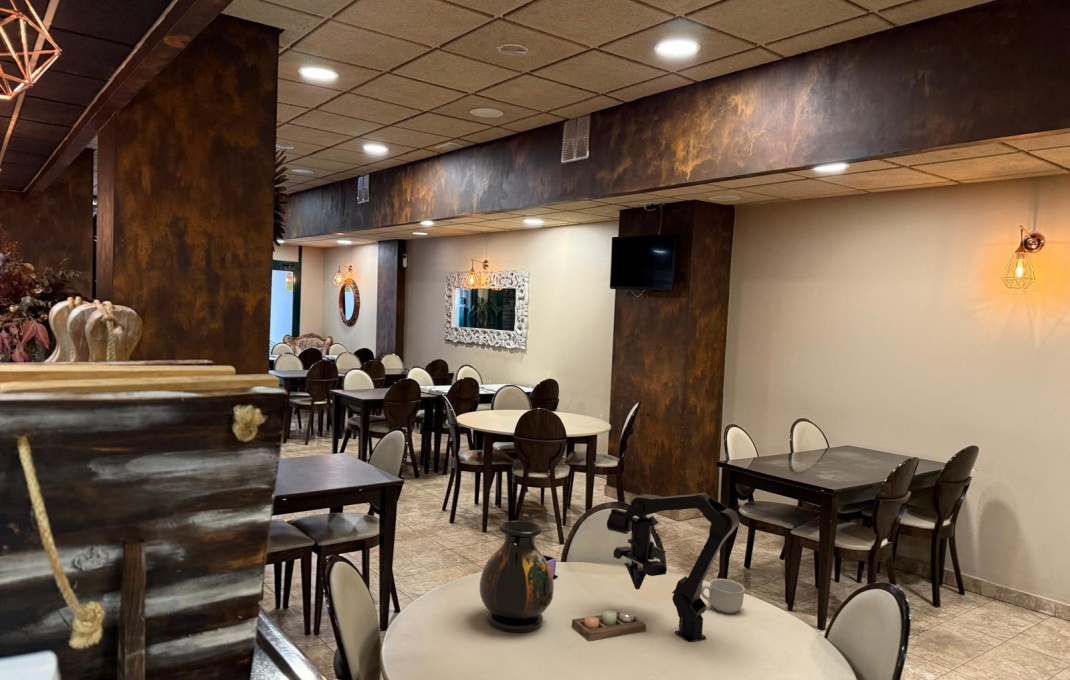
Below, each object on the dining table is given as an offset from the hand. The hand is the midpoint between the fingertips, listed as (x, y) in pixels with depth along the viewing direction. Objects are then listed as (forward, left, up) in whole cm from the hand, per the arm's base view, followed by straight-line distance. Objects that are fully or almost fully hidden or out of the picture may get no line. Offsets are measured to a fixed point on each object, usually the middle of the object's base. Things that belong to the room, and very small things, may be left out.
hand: (637, 589), depth 212 cm
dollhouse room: (+41, +13, -10) cm, 44 cm away
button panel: (-3, +11, -9) cm, 15 cm away
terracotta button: (-3, +17, -9) cm, 20 cm away
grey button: (-3, +5, -9) cm, 11 cm away
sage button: (-3, +12, -8) cm, 14 cm away
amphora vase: (+10, +35, -9) cm, 38 cm away
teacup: (-2, -32, -10) cm, 33 cm away
